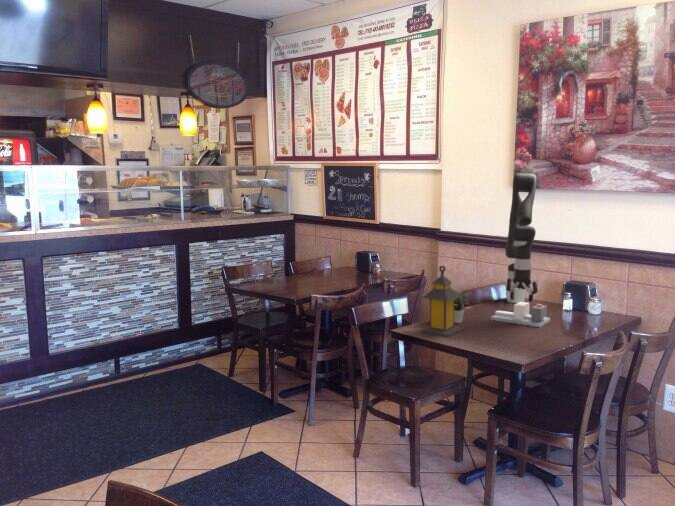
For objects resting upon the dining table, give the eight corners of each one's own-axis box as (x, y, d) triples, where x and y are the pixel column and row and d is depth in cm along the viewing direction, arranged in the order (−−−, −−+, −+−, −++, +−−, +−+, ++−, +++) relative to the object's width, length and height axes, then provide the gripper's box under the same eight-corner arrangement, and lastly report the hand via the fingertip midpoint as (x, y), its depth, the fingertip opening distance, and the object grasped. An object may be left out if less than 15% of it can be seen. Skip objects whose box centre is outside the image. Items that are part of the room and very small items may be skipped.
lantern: (436, 325, 283) (436, 262, 278) (463, 330, 274) (464, 265, 269) (420, 332, 272) (420, 266, 268) (447, 337, 263) (448, 269, 259)
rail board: (502, 314, 302) (502, 296, 301) (550, 321, 287) (550, 302, 286) (490, 319, 291) (491, 301, 290) (539, 327, 276) (540, 307, 275)
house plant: (472, 326, 279) (473, 292, 277) (442, 325, 282) (443, 291, 280) (472, 319, 293) (472, 286, 291) (443, 318, 296) (443, 285, 293)
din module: (519, 315, 293) (520, 301, 292) (528, 316, 290) (529, 302, 289) (513, 318, 287) (514, 304, 286) (522, 320, 284) (523, 305, 283)
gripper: (540, 268, 284) (538, 301, 286) (511, 265, 292) (510, 297, 295) (534, 270, 278) (533, 304, 280) (505, 267, 287) (504, 300, 289)
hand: (521, 300), depth 288 cm, fingers open, 8 cm apart
